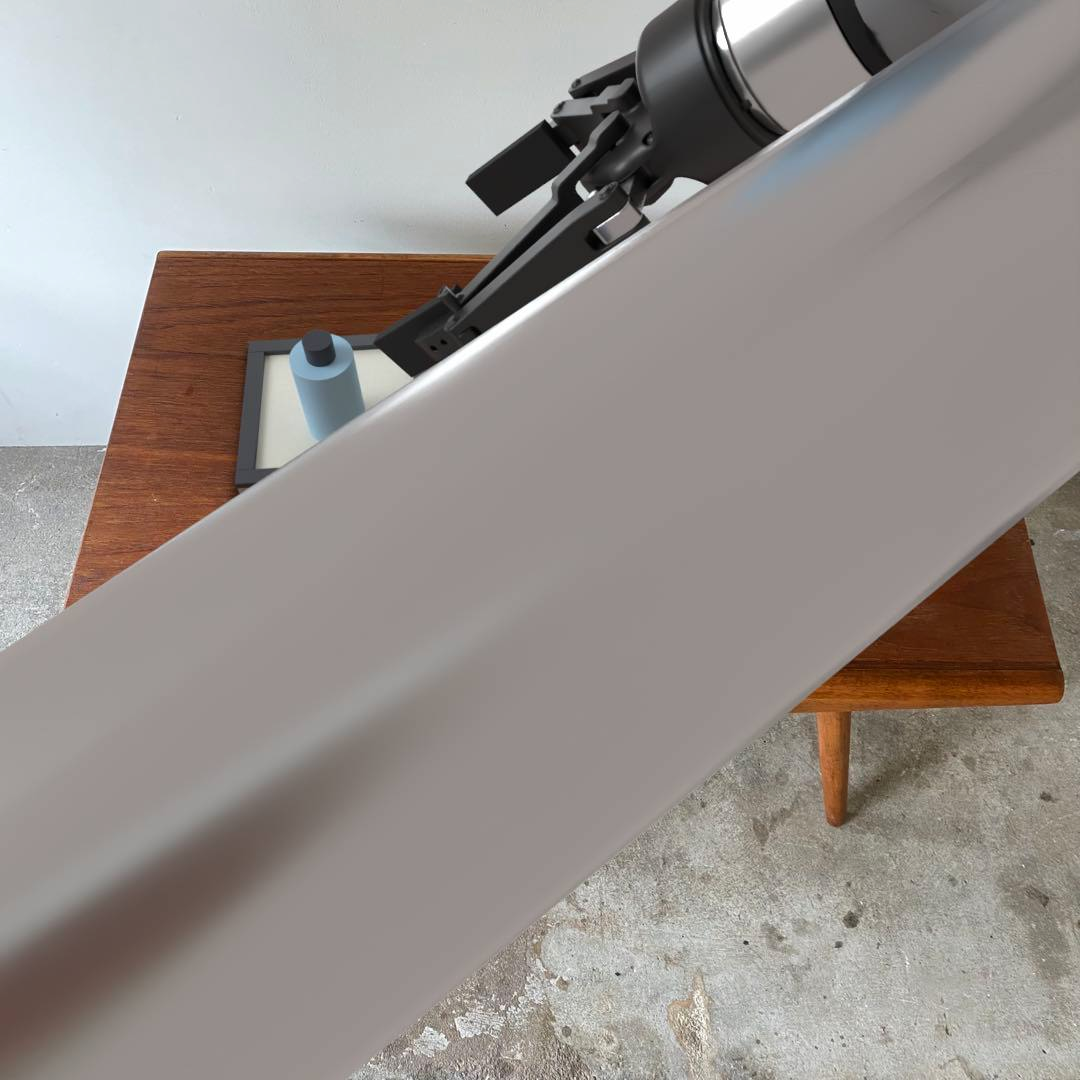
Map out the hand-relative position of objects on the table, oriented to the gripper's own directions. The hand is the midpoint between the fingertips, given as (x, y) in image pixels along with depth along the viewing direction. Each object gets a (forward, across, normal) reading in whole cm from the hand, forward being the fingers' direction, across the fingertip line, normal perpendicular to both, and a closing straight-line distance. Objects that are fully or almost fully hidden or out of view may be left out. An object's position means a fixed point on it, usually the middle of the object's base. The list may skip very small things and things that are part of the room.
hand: (441, 270), depth 53 cm
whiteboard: (+39, +15, -12) cm, 43 cm away
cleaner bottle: (+37, +13, -11) cm, 41 cm away
